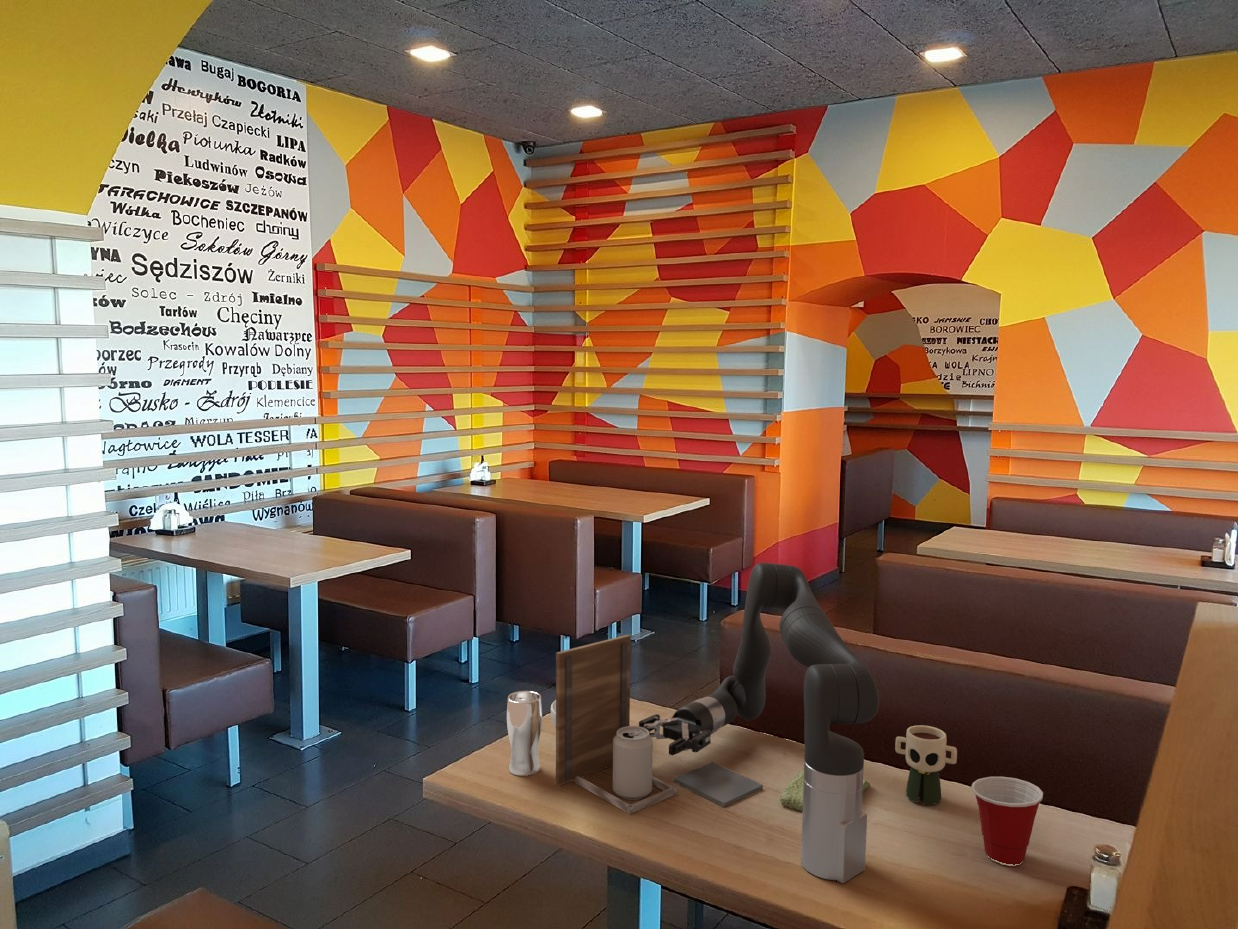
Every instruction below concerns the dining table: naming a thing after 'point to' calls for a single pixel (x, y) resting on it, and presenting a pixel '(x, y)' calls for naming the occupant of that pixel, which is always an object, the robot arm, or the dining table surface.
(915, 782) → the character mug
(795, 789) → the washcloth
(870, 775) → the dining table surface
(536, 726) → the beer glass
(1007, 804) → the plastic cup
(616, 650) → the wooden stand
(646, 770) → the can
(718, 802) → the slate board
